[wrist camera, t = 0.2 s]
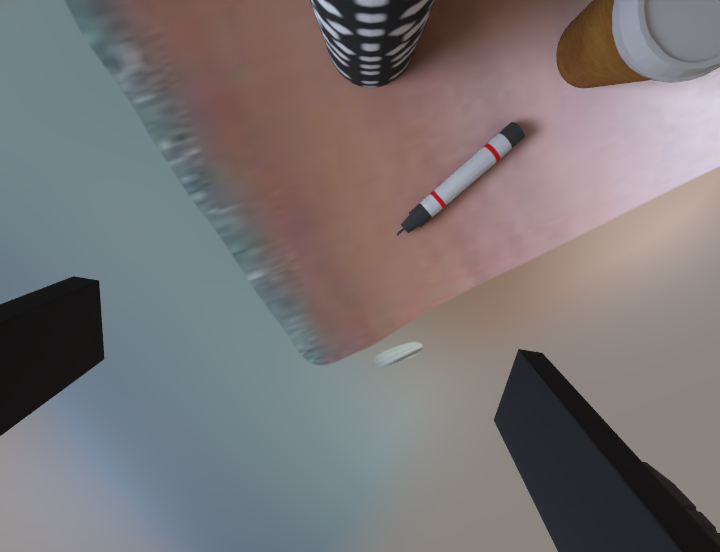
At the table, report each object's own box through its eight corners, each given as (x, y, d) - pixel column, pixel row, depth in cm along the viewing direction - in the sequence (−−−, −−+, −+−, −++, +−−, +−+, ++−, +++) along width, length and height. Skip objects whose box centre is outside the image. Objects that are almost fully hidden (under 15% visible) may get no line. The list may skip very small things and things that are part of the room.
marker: (507, 123, 34) (515, 120, 32) (519, 138, 35) (527, 137, 33) (390, 227, 38) (391, 230, 36) (402, 240, 38) (403, 244, 36)
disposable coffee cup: (610, 120, 34) (731, 98, 23) (520, 87, 33) (600, 47, 22) (665, 10, 31) (837, -78, 20) (569, -29, 30) (690, -144, 19)
